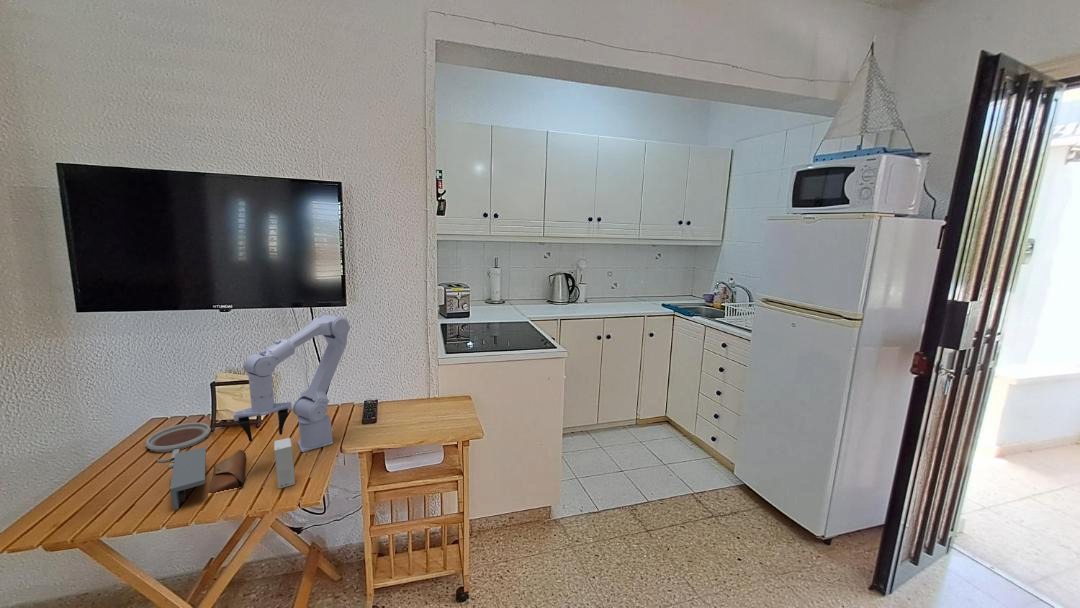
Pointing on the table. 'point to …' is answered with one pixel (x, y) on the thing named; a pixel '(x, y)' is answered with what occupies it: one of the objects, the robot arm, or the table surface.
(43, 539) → the table surface
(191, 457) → the low shelf
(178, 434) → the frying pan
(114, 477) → the table surface
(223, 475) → the sunglasses case
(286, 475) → the skincare box
